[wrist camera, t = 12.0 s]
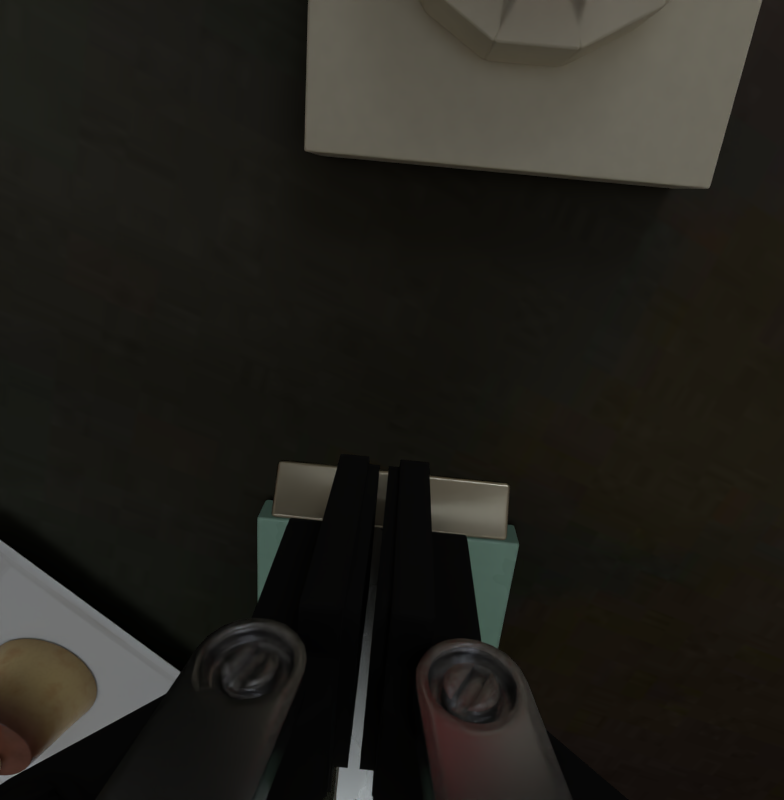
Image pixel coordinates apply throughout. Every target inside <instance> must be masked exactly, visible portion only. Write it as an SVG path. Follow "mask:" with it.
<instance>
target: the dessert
mask: <svg viewBox="0 0 784 800" xmlns="http://www.w3.org/2000/svg"><path fill="white" fill-rule="evenodd" d="M180 672H181V671H179V670H178V669H177V668H175V667H174V666H173V665H171V664H170V663H168V662H167V661H166V660H164V659H163V658H162V657H160V656H159V655H158V654H156V653H155V652H153V651H152V650H151V649H149V648H148V647H147V646H145V645H144V644H142V643H141V642H140V641H138V640H137V639H136V638H134V637H133V636H132V635H130V634H129V633H127V632H126V631H125V630H123V629H122V628H121V627H119V626H118V625H117V624H115V623H114V622H112V621H111V620H110V619H108V618H107V617H106V616H104V615H103V614H102V613H100V612H99V611H97V610H96V609H95V608H93V607H92V606H91V605H89V604H88V603H86V602H85V601H84V600H82V599H81V598H80V597H78V596H77V595H76V594H74V593H73V592H71V591H70V590H69V589H67V588H66V587H65V586H63V585H62V584H61V583H59V582H58V581H56V580H55V579H54V578H52V577H51V576H50V575H48V574H47V573H46V572H44V571H43V570H41V569H40V568H39V567H37V566H36V565H35V564H33V563H32V562H30V561H29V560H28V559H26V558H25V557H24V556H22V555H21V554H20V553H18V552H17V551H15V550H14V549H13V548H11V547H10V546H9V545H7V544H6V543H5V542H3V541H2V540H0V784H2V783H3V782H5V781H6V780H8V779H10V778H11V777H13V776H15V775H17V774H19V773H21V772H22V771H24V770H26V769H28V768H30V767H32V766H34V765H35V764H37V763H39V762H41V761H43V760H45V759H46V758H48V757H50V756H52V755H54V754H56V753H57V752H59V751H61V750H63V749H65V748H67V747H69V746H70V745H72V744H74V743H76V742H78V741H80V740H81V739H83V738H85V737H87V736H89V735H91V734H92V733H94V732H96V731H98V730H100V729H102V728H104V727H105V726H107V725H109V724H111V723H113V722H115V721H116V720H118V719H120V718H122V717H124V716H126V715H127V714H129V713H131V712H133V711H135V710H137V709H139V708H140V707H142V706H144V705H146V704H148V703H150V702H151V701H153V700H155V699H157V698H159V697H161V696H162V695H164V694H166V693H167V692H168V690H169V689H170V687H171V686H172V684H173V683H174V681H175V680H176V678H177V677H178V675H179V674H180Z"/></svg>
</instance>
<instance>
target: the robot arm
mask: <svg viewBox="0 0 784 800" xmlns="http://www.w3.org/2000/svg"><path fill="white" fill-rule="evenodd" d="M369 459H370V458H369V457H367V456H357V455H347V454H341V456H340V459H339V463H338V466H337V470H336V473H335V477H334V481H333V484H332V488H331V491H330V495H329V498H328V502H327V506H326V509H325V513H324V516H323V520H322V521H320V520H310V519H300V518H291V519H289V521H288V524H287V526H286V529H285V531H284V534H283V537H282V539H281V542H280V545H279V547H278V550H277V552H276V555H275V558H274V560H273V563H272V566H271V568H270V571H269V574H268V576H267V579H266V582H265V584H264V587H263V590H262V592H261V595H260V598H259V600H258V603H257V606H256V608H255V611H254V613H253V616H252V618H250V619H242V620H237V621H235V622H232V623H229V624H227V625H224V626H222V627H220V628H219V629H217V630H216V631H214V632H213V633H211V634H210V635H208V636H207V637H206V638H205V639H204V641H203V642H202V643H201V644H200V645H199V646H198V647H197V648H196V650H195V651H194V653H193V654H192V656H191V657H190V659H189V660H188V662H187V663H186V665H185V666H184V668H183V669H182V671H181V672H180V674H179V675H178V677H177V678H176V680H175V681H174V683H173V684H172V686H171V687H170V689H169V690H168V692H167V693H166V694H164V695H162V696H161V697H159V698H157V699H155V700H153V701H151V702H150V703H148V704H146V705H144V706H142V707H140V708H139V709H137V710H135V711H133V712H131V713H129V714H127V715H126V716H124V717H122V718H120V719H118V720H116V721H115V722H113V723H111V724H109V725H107V726H105V727H104V728H102V729H100V730H98V731H96V732H94V733H92V734H91V735H89V736H87V737H85V738H83V739H81V740H80V741H78V742H76V743H74V744H72V745H70V746H69V747H67V748H65V749H63V750H61V751H59V752H57V753H56V754H54V755H52V756H50V757H48V758H46V759H45V760H43V761H41V762H39V763H37V764H35V765H34V766H32V767H30V768H28V769H26V770H24V771H22V772H21V773H19V774H17V775H15V776H13V777H11V778H10V779H8V780H6V781H5V782H3V783H2V784H0V800H322V799H323V798H324V797H326V796H327V792H330V791H331V784H332V777H333V770H334V767H342V768H348V761H349V753H350V745H351V736H352V728H353V719H354V711H355V703H356V694H357V686H358V677H359V669H360V660H361V652H362V644H363V635H364V627H365V618H366V610H367V601H368V593H369V583H370V572H371V561H372V549H373V538H374V527H375V516H376V504H377V493H378V482H379V470H380V465H372V464H369ZM359 769H362V770H372V771H373V784H372V796H373V800H628V799H627V798H626V797H624V796H623V795H622V794H621V793H620V792H619V791H617V790H616V789H615V788H614V787H613V786H611V785H610V784H609V783H608V782H607V781H606V780H604V779H603V778H602V777H601V776H600V775H599V774H597V773H596V772H595V771H594V770H593V769H591V768H590V767H589V766H588V765H587V764H586V763H584V762H583V761H582V760H581V759H580V758H579V757H577V756H576V755H575V754H574V753H573V752H571V751H570V750H569V749H568V748H567V747H566V746H564V745H563V744H562V743H561V742H560V741H559V740H557V739H556V738H555V737H554V736H553V735H551V734H550V733H549V732H548V731H547V730H546V729H545V727H544V724H543V722H542V719H541V716H540V714H539V711H538V709H537V706H536V704H535V701H534V698H533V696H532V693H531V691H530V688H529V685H528V683H527V680H526V679H525V677H524V675H523V673H522V672H521V670H520V668H519V666H518V665H517V664H516V663H515V662H514V661H513V660H512V659H511V658H510V657H509V656H508V655H507V654H505V653H504V652H502V651H500V650H499V649H497V648H496V647H494V646H492V645H490V644H487V643H484V642H481V635H480V627H479V620H478V613H477V606H476V598H475V591H474V584H473V576H472V569H471V562H470V554H469V547H468V541H467V536H466V535H462V534H452V533H442V532H432V519H431V494H430V469H429V462H419V461H409V460H401V462H400V467H393V466H389V471H388V481H387V491H386V501H385V511H384V521H383V531H382V541H381V551H380V561H379V571H378V581H377V591H376V601H375V611H374V621H373V631H372V642H371V652H370V663H369V673H368V684H367V694H366V705H365V716H364V726H363V737H362V747H361V758H360V768H359Z"/></svg>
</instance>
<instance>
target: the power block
mask: <svg viewBox="0 0 784 800" xmlns="http://www.w3.org/2000/svg"><path fill="white" fill-rule="evenodd" d="M761 2H762V0H308V22H307V61H306V100H305V139H304V149H305V151H306V152H310V153H313V154H317V155H320V156H329V157H339V158H350V159H361V160H372V161H382V162H393V163H404V164H415V165H425V166H436V167H447V168H458V169H468V170H479V171H490V172H501V173H511V174H522V175H533V176H544V177H554V178H565V179H576V180H586V181H597V182H608V183H619V184H629V185H640V186H651V187H662V188H681V189H708V188H709V187H710V185H711V181H712V177H713V174H714V170H715V167H716V163H717V160H718V156H719V152H720V149H721V145H722V142H723V138H724V135H725V131H726V127H727V124H728V120H729V117H730V113H731V110H732V106H733V102H734V99H735V95H736V92H737V88H738V85H739V81H740V77H741V74H742V70H743V67H744V63H745V60H746V56H747V52H748V49H749V45H750V42H751V38H752V35H753V31H754V27H755V24H756V20H757V17H758V13H759V10H760V6H761Z"/></svg>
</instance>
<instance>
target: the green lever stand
mask: <svg viewBox="0 0 784 800" xmlns="http://www.w3.org/2000/svg"><path fill="white" fill-rule="evenodd" d="M272 505H273V500H266V501H265V503H264V505H263V507H262V510H261V512H260V514H259V516H258V518H257V579H258V600H259V598H260V595H261V592H262V590H263V587H264V584H265V582H266V579H267V576H268V574H269V571H270V568H271V566H272V563H273V560H274V558H275V555H276V552H277V550H278V547H279V545H280V542H281V539H282V537H283V534H284V531H285V529H286V526H287V524H288V521H289V519H290V518H281V517H274V516H272V513H271V512H272ZM467 541H468V547H469V554H470V562H471V569H472V576H473V584H474V591H475V598H476V606H477V613H478V620H479V627H480V635H481V642H484V643H487V644H490V645H492V646H494V647H496V648H497V649H498V645H499V640H500V635H501V630H502V626H503V621H504V616H505V611H506V606H507V602H508V597H509V592H510V587H511V582H512V577H513V573H514V568H515V563H516V558H517V553H518V548H519V543H518V539H517V535H516V532H515V528H514V526H513V525H508V527H507V537H506V539H505V540H494V539H484V538H474V537H467Z"/></svg>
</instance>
